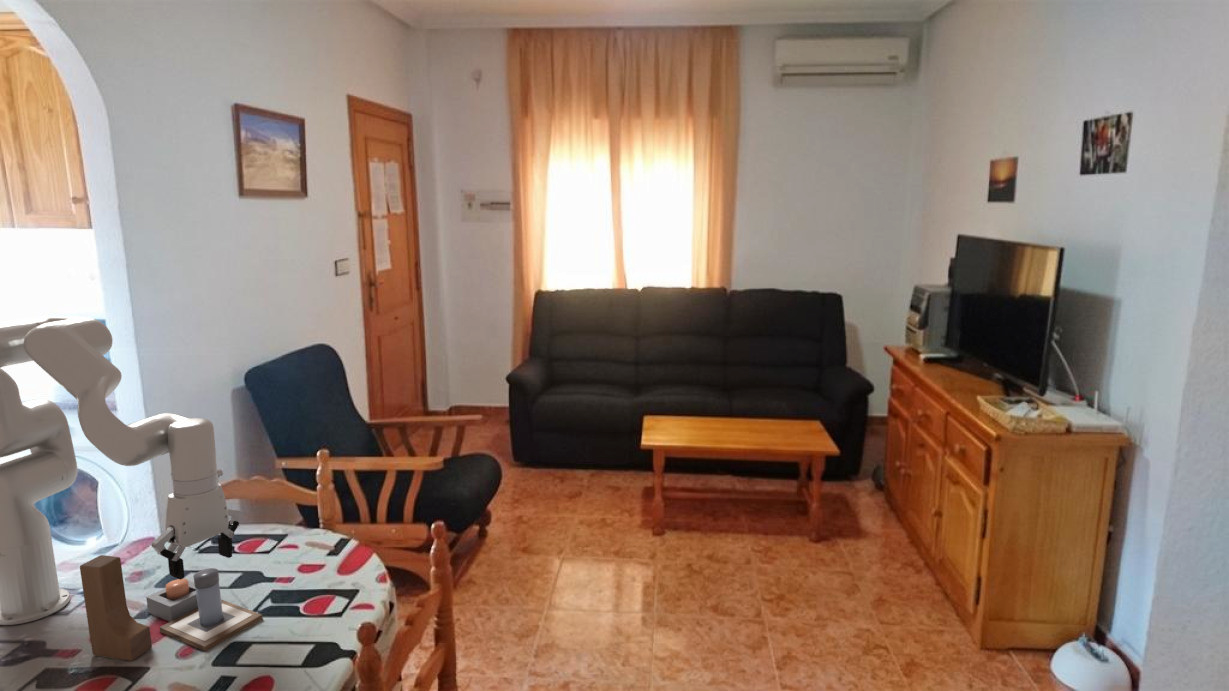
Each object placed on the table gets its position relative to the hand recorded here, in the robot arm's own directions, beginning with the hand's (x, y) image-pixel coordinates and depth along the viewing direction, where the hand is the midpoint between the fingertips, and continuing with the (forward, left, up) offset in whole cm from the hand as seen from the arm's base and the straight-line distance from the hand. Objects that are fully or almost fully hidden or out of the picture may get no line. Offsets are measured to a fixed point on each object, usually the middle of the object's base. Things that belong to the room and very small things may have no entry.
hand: (202, 566), depth 137 cm
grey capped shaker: (+1, 0, -11) cm, 11 cm away
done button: (-11, +1, -10) cm, 15 cm away
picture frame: (+1, 0, -13) cm, 13 cm away
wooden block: (-6, -13, -13) cm, 19 cm away
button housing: (-11, +1, -13) cm, 17 cm away
